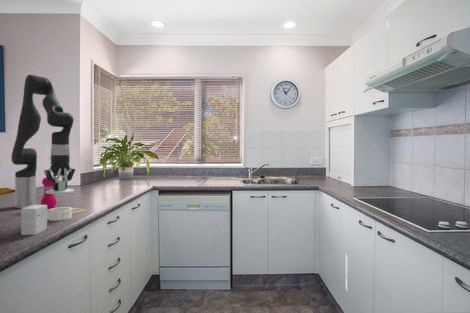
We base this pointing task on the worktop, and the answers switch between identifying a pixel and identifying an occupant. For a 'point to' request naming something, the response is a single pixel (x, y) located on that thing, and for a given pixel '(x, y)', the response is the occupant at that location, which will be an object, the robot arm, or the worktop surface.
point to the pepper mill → (48, 195)
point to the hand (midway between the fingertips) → (60, 190)
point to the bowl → (59, 213)
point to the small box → (33, 219)
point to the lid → (60, 189)
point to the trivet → (77, 210)
